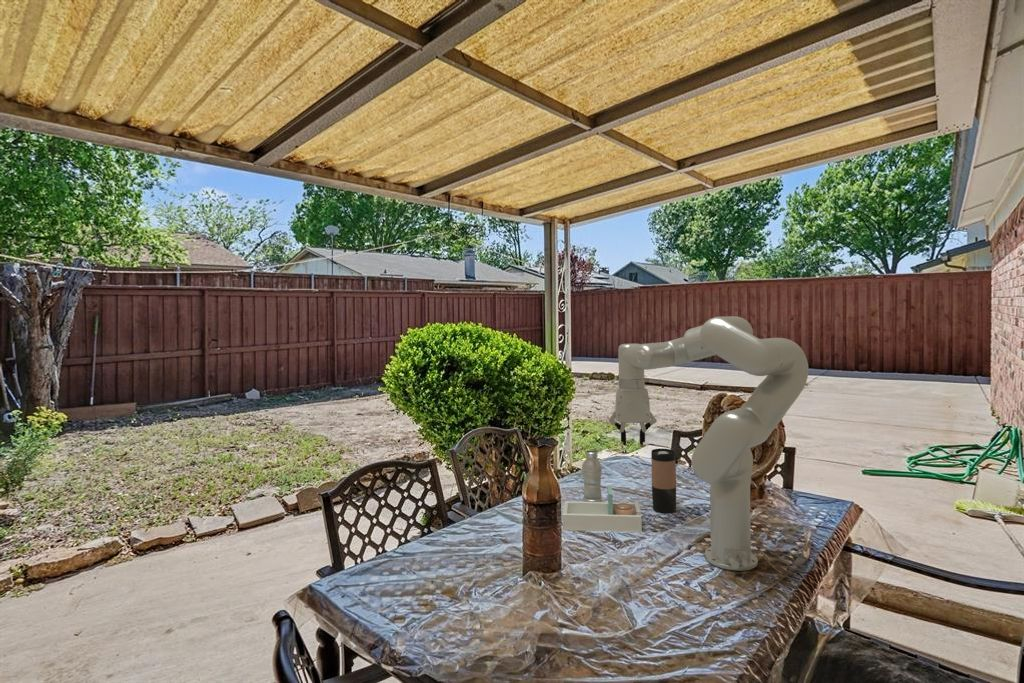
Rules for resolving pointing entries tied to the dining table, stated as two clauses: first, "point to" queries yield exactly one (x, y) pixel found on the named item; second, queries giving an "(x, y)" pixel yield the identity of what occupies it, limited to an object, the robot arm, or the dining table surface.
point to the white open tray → (599, 517)
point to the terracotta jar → (623, 509)
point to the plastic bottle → (592, 477)
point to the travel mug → (663, 480)
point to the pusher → (610, 501)
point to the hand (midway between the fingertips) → (633, 443)
